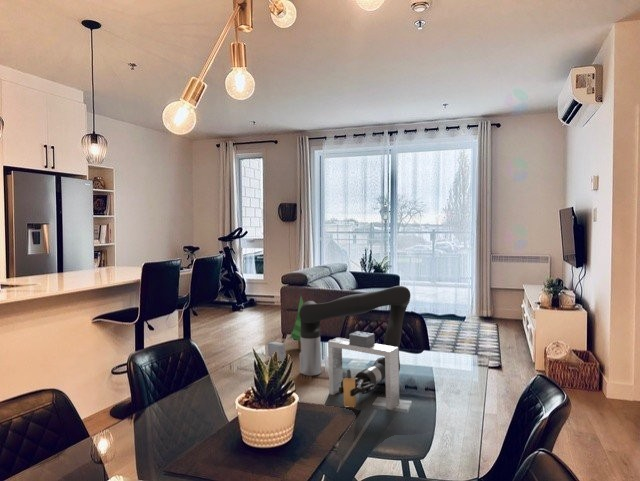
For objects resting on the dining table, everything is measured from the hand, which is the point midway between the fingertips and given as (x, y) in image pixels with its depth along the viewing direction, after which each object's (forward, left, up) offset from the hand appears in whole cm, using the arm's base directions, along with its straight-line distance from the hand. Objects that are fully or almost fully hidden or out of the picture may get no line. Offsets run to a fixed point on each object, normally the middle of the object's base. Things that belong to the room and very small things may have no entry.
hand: (345, 392), depth 169 cm
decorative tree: (-53, +64, -7) cm, 83 cm away
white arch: (+2, +13, -7) cm, 15 cm away
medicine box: (-56, +42, -7) cm, 70 cm away
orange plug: (0, +3, -6) cm, 7 cm away
